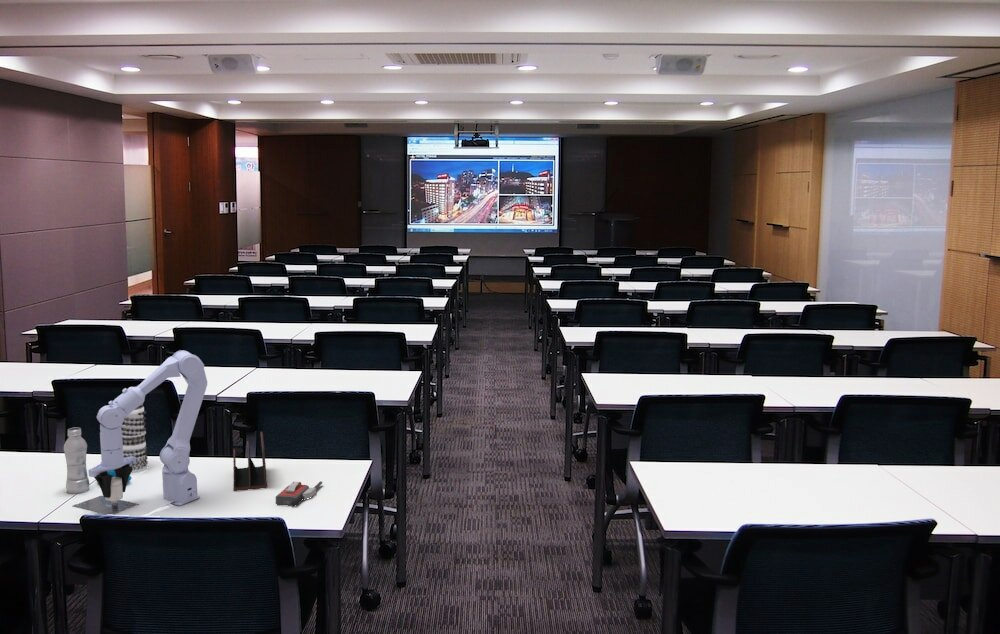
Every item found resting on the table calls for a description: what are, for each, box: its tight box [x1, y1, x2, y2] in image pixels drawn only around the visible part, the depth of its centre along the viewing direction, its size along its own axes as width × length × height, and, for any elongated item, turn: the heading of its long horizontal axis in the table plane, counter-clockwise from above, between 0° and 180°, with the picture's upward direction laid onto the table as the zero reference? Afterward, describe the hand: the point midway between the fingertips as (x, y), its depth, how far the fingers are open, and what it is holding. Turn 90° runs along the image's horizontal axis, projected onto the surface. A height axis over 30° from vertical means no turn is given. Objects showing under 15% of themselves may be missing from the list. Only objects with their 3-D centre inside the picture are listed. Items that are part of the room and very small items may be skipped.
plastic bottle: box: [63, 427, 91, 495], centre depth 264 cm, size 6×7×20 cm
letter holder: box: [232, 431, 268, 492], centre depth 278 cm, size 10×20×14 cm, turn 17°
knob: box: [105, 477, 124, 501], centre depth 251 cm, size 4×4×6 cm
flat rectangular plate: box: [71, 495, 140, 515], centre depth 253 cm, size 16×10×4 cm, turn 63°
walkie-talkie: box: [275, 481, 323, 507], centre depth 265 cm, size 9×4×20 cm
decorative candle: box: [121, 402, 149, 473], centre depth 288 cm, size 9×9×25 cm
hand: (114, 494), depth 251 cm, fingers closed on knob, 4 cm apart
